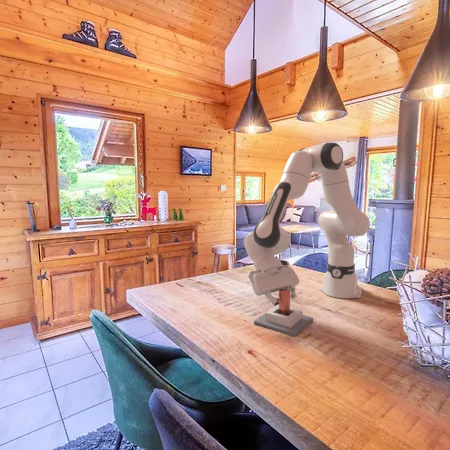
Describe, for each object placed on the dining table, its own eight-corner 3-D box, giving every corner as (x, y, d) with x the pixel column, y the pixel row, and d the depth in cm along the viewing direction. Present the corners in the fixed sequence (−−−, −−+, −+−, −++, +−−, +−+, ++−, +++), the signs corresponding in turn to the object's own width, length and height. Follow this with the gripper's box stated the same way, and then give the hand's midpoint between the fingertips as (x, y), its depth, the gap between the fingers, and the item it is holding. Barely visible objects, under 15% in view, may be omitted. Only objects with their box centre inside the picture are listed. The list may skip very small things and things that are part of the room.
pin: (281, 316, 114) (282, 287, 113) (291, 318, 111) (292, 290, 110) (276, 319, 111) (277, 290, 109) (286, 322, 108) (287, 292, 107)
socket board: (274, 310, 122) (274, 300, 122) (313, 320, 113) (313, 309, 112) (253, 323, 110) (253, 313, 109) (295, 336, 100) (295, 325, 100)
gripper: (250, 267, 109) (267, 302, 102) (291, 260, 120) (309, 291, 113) (242, 276, 113) (259, 310, 106) (283, 269, 124) (300, 299, 117)
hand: (285, 300), depth 110 cm, fingers open, 8 cm apart
